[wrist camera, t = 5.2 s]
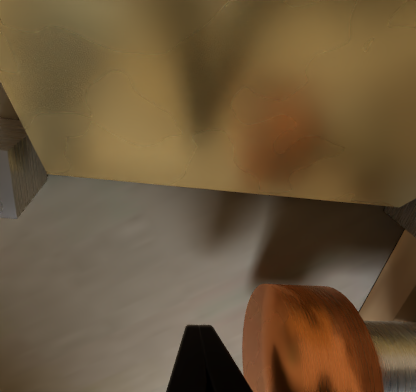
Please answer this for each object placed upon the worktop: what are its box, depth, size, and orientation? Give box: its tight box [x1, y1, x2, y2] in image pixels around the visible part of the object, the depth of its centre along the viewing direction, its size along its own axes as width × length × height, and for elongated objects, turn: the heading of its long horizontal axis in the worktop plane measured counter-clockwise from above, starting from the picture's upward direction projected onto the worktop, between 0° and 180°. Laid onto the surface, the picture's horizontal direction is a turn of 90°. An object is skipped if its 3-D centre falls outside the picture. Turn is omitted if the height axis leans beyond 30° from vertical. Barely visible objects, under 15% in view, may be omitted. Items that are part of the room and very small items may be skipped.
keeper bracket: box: [0, 118, 416, 238], centre depth 8 cm, size 2×13×2 cm, turn 80°
